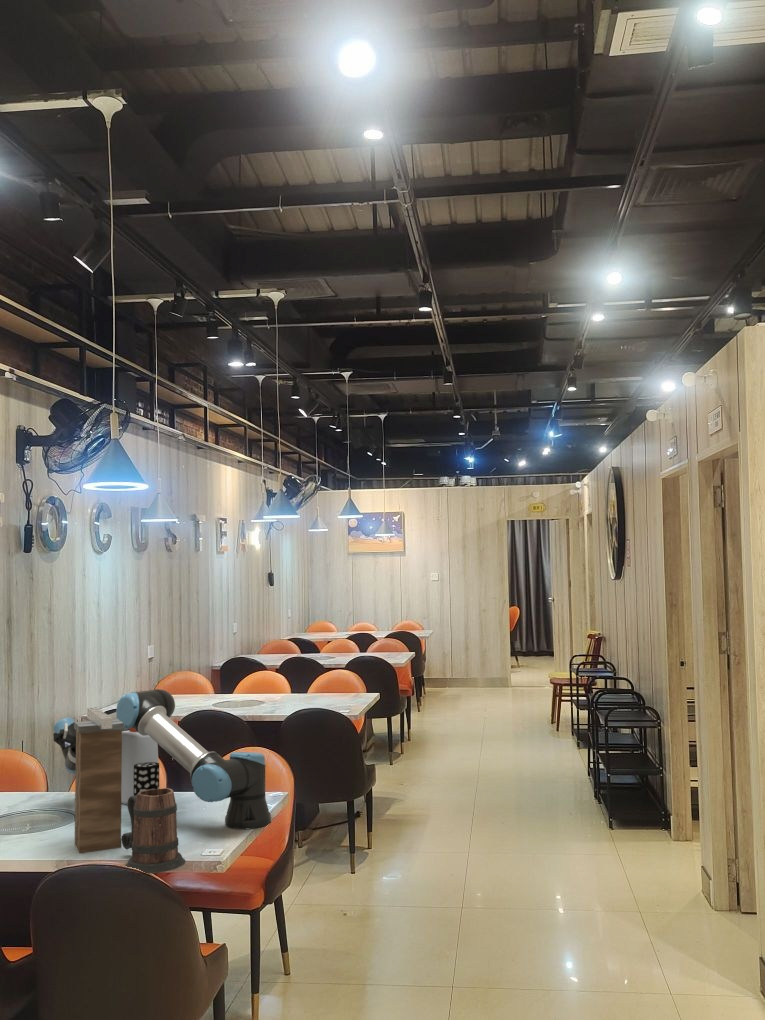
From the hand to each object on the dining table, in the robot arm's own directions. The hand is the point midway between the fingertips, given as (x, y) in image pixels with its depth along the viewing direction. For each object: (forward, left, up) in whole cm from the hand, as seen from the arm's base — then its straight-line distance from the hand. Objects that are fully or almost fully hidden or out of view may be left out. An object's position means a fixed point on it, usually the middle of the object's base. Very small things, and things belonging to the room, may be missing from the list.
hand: (87, 725), depth 287 cm
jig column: (-22, +12, -33) cm, 41 cm away
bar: (-22, +12, +4) cm, 25 cm away
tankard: (-49, +16, -34) cm, 62 cm away
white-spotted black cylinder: (-17, -11, -34) cm, 39 cm away
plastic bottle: (+17, -35, -33) cm, 51 cm away
